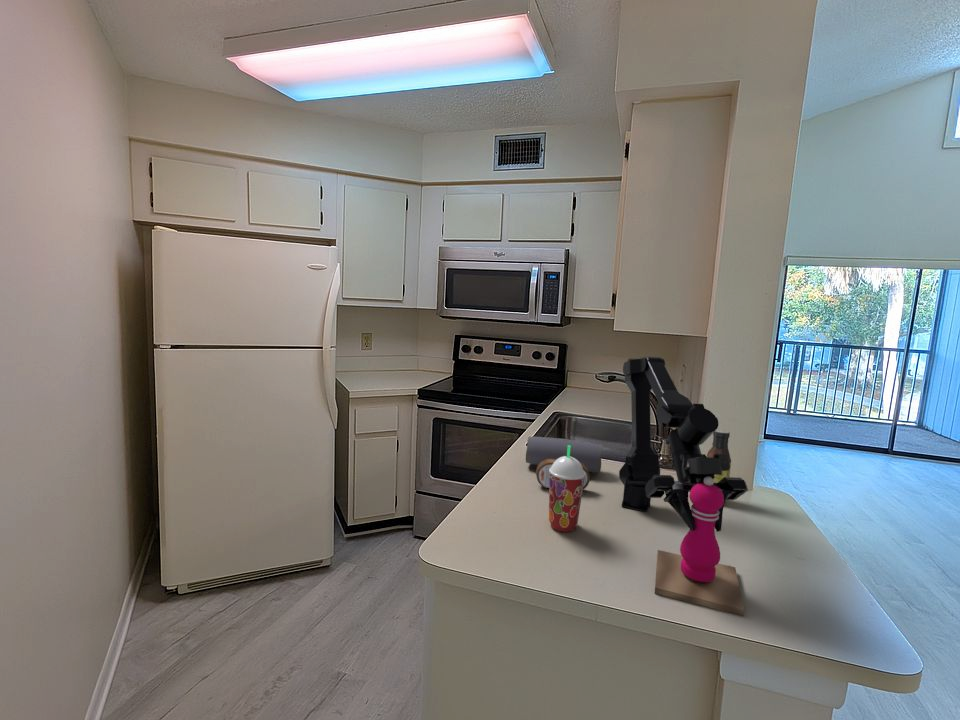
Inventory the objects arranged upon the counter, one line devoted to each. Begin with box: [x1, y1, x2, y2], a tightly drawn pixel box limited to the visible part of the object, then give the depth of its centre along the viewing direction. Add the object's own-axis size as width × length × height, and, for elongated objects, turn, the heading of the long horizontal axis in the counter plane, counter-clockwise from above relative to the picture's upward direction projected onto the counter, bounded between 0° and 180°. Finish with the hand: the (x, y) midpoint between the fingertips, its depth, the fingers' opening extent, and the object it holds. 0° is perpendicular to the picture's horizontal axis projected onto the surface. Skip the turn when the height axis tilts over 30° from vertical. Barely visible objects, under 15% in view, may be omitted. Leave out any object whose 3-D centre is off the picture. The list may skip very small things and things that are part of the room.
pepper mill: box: [679, 477, 725, 582], centre depth 96 cm, size 7×7×20 cm
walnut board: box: [654, 549, 745, 617], centre depth 98 cm, size 15×15×1 cm
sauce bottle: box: [706, 428, 732, 503], centre depth 137 cm, size 6×6×20 cm
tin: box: [535, 459, 591, 490], centre depth 140 cm, size 15×3×8 cm, turn 84°
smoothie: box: [548, 445, 585, 533], centre depth 117 cm, size 8×8×20 cm
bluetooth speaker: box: [525, 436, 603, 473], centre depth 154 cm, size 23×9×10 cm, turn 77°
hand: (706, 530), depth 95 cm, fingers closed on pepper mill, 5 cm apart
